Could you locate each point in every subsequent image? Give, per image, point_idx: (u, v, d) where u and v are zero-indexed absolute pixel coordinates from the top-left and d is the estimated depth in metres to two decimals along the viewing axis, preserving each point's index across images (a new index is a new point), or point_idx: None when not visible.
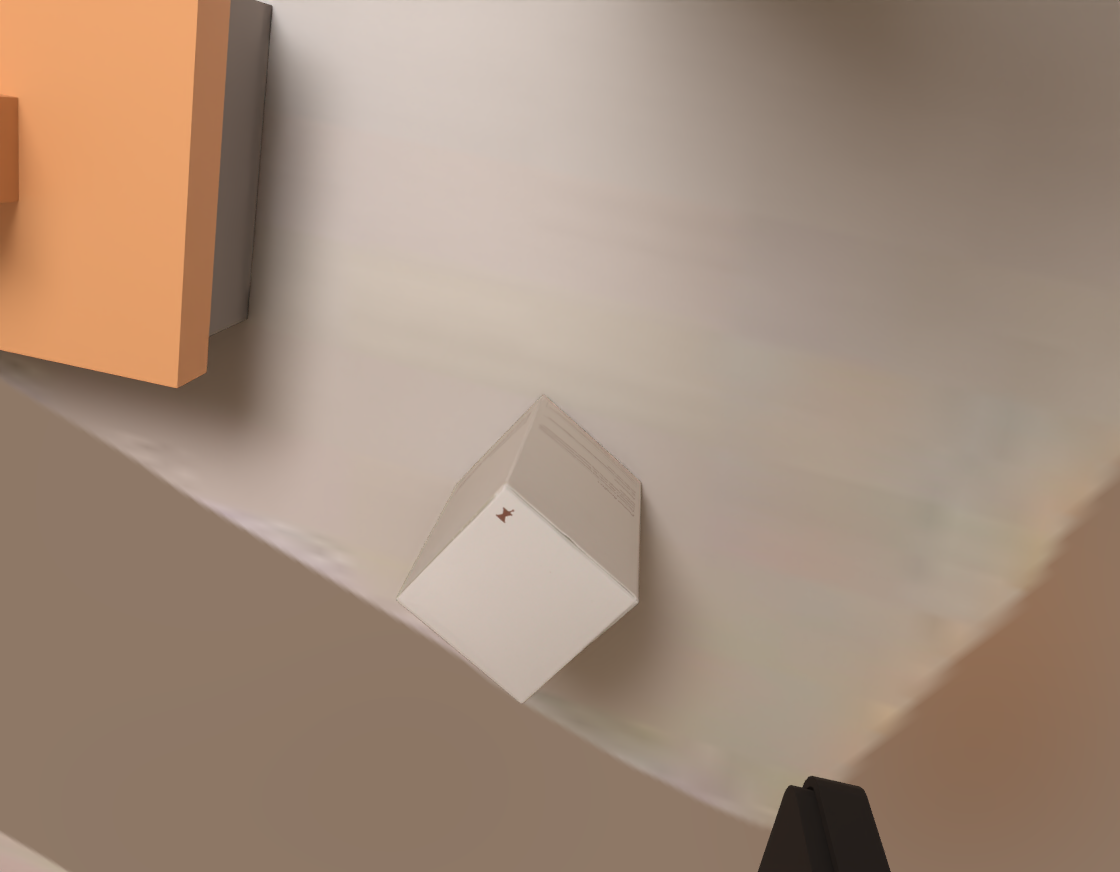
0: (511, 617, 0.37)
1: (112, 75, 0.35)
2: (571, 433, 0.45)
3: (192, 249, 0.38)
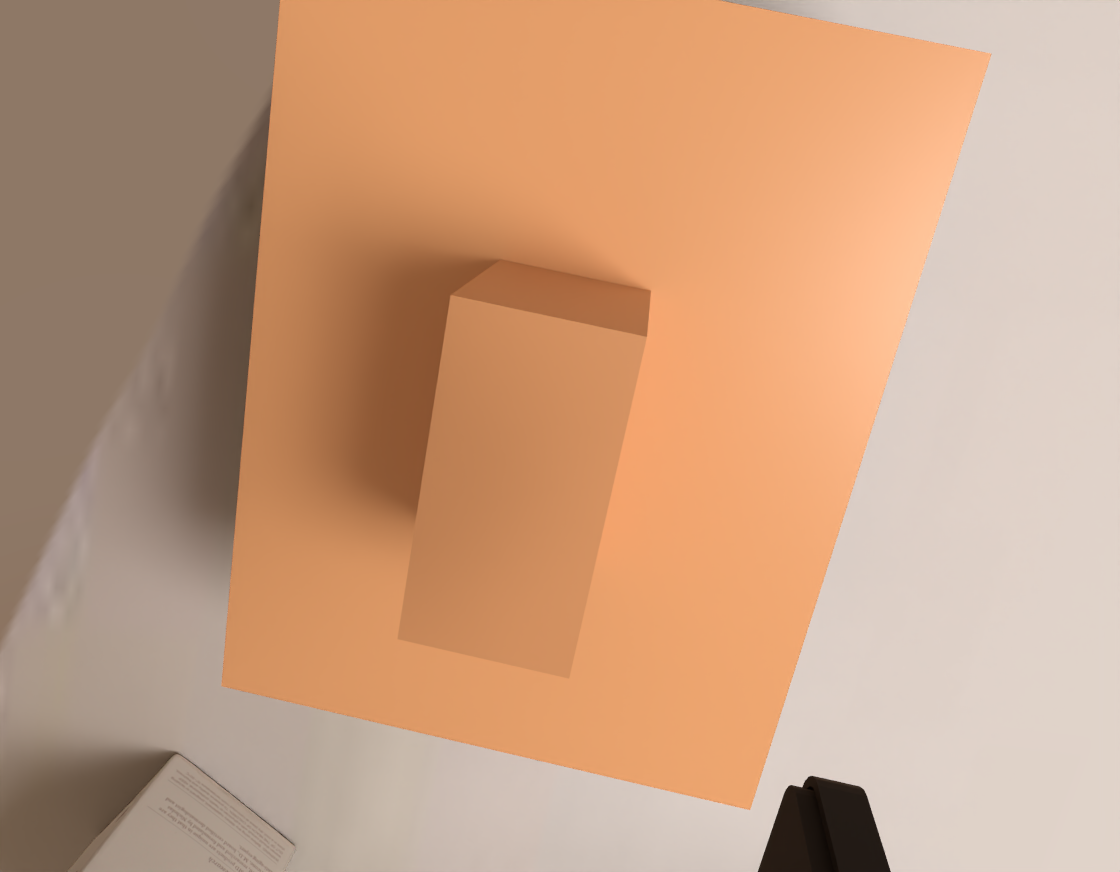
0: None
1: (614, 686, 0.27)
2: None
3: None
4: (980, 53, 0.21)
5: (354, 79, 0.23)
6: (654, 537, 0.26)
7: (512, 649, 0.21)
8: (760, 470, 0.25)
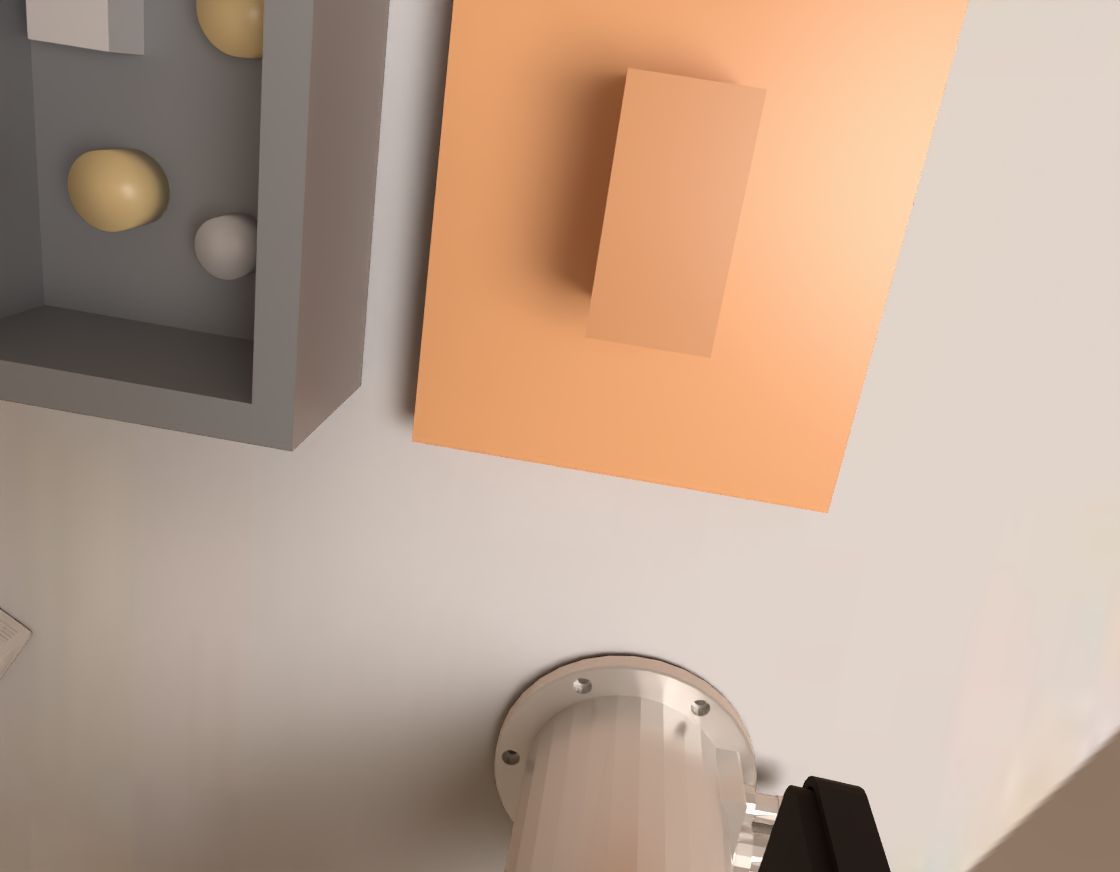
0: None
1: (720, 417, 0.36)
2: None
3: None
4: None
5: None
6: (751, 291, 0.34)
7: (669, 338, 0.29)
8: (832, 230, 0.33)
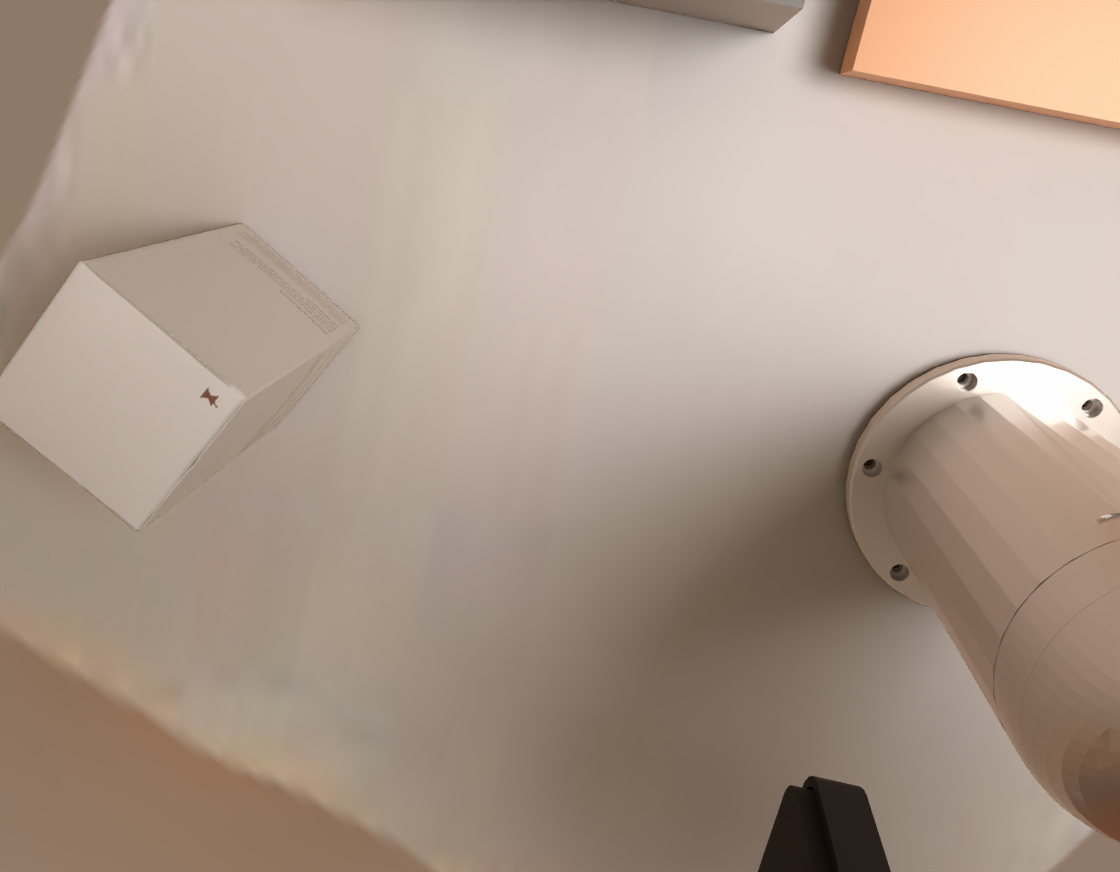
0: (86, 399, 0.32)
1: None
2: (318, 371, 0.42)
3: (997, 100, 0.36)
4: None
5: None
6: None
7: None
8: None
